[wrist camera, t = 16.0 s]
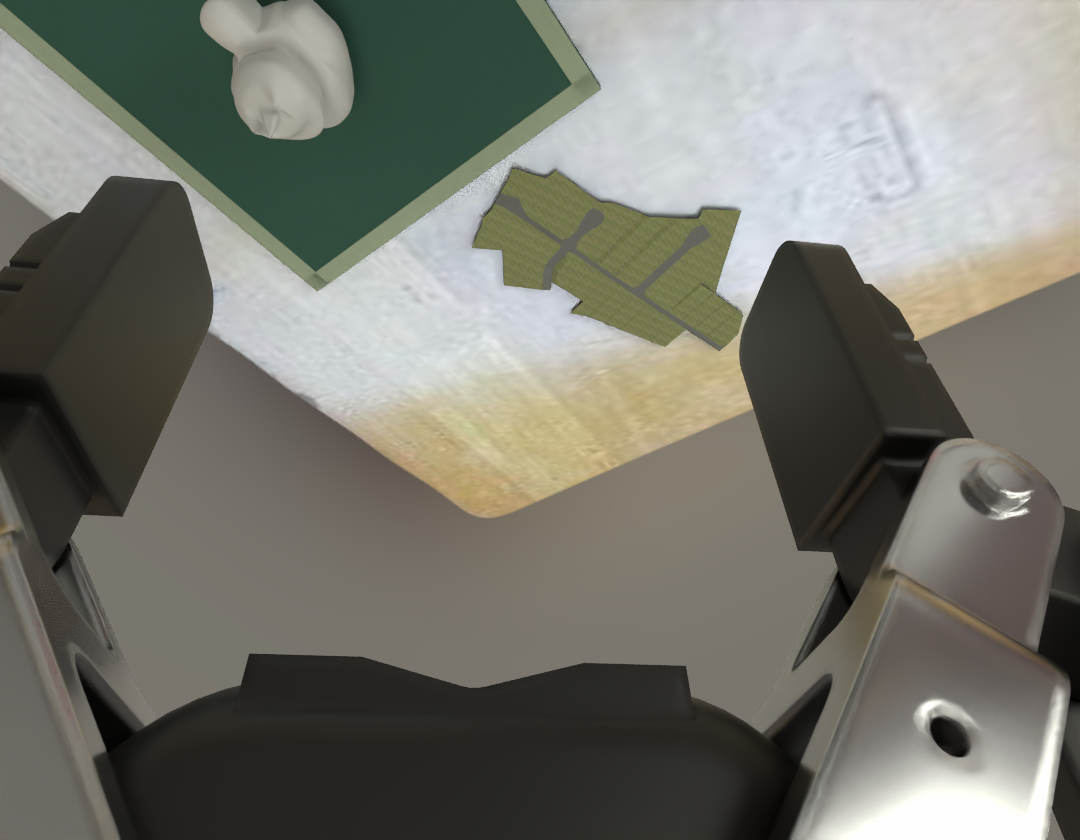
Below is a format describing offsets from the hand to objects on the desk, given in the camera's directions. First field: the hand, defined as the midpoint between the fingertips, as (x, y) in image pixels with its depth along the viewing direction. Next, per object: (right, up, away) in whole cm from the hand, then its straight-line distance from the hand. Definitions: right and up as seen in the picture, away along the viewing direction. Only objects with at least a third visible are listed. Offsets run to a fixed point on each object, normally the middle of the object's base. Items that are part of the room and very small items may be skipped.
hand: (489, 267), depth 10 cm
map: (+6, +7, +31) cm, 32 cm away
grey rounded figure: (-10, +15, +22) cm, 28 cm away
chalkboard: (-10, +15, +22) cm, 28 cm away
